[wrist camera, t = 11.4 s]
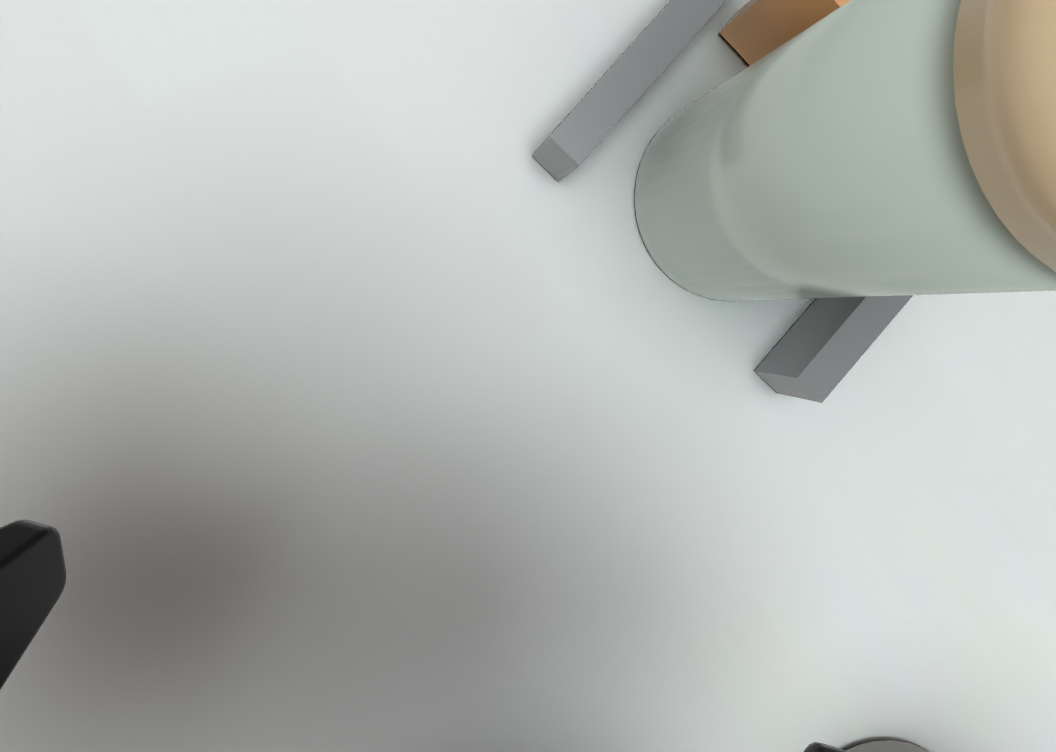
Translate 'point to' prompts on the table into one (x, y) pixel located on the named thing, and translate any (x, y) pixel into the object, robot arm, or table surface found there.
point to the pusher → (773, 24)
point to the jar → (867, 160)
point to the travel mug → (887, 747)
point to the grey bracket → (828, 323)
